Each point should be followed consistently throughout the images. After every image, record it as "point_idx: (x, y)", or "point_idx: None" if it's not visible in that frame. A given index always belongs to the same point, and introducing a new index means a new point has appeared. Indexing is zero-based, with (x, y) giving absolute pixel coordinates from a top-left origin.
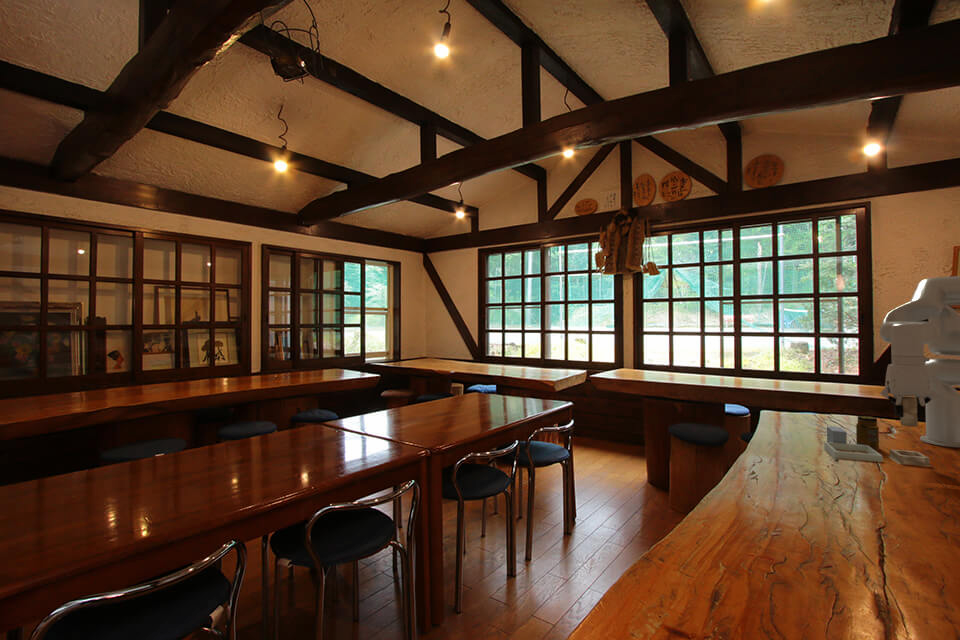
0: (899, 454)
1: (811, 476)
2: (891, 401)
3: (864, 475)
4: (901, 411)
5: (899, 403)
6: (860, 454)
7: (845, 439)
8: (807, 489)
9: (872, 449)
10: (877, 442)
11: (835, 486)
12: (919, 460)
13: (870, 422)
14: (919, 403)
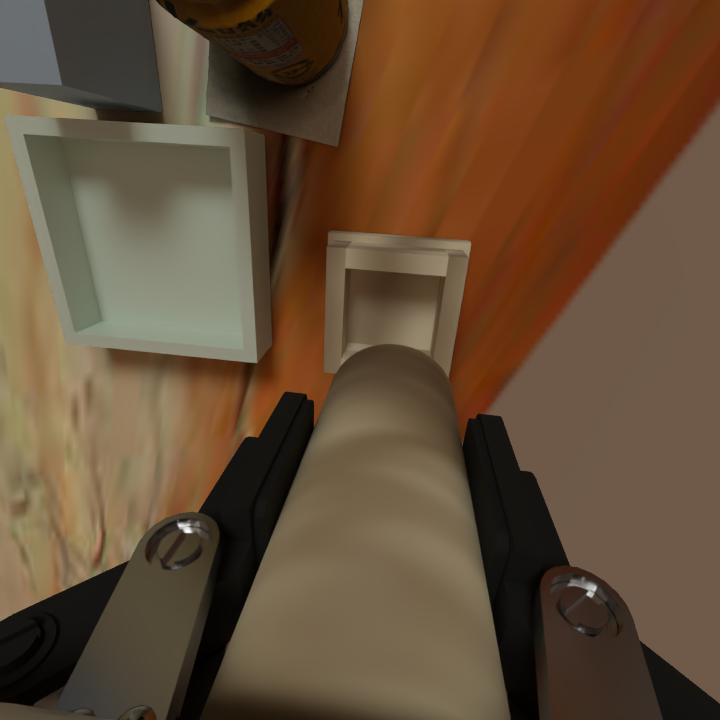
0: (334, 348)
1: (36, 518)
2: (120, 575)
3: (177, 481)
4: None
5: (220, 639)
6: (170, 352)
7: (103, 97)
8: (38, 599)
9: (243, 242)
10: (317, 44)
11: (95, 574)
12: None
13: None
14: (507, 688)
